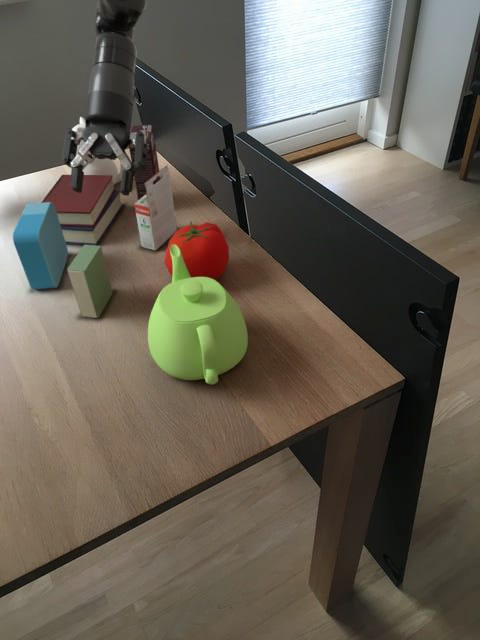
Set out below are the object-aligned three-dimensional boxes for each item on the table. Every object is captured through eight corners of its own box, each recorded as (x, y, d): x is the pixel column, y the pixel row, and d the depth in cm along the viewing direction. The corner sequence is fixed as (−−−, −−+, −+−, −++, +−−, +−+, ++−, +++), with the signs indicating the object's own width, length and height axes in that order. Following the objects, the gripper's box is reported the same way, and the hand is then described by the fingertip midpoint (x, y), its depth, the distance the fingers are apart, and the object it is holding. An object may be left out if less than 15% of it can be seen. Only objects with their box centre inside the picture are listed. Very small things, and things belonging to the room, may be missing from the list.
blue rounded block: (46, 254, 106) (27, 200, 98) (69, 253, 106) (52, 198, 98) (32, 292, 97) (10, 236, 89) (57, 291, 97) (37, 234, 89)
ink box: (141, 247, 106) (127, 179, 96) (163, 227, 111) (152, 161, 102) (156, 251, 105) (144, 183, 95) (178, 231, 110) (169, 164, 100)
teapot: (140, 314, 91) (126, 250, 82) (224, 295, 94) (220, 232, 85) (164, 412, 75) (150, 346, 67) (266, 386, 78) (265, 319, 69)
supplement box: (162, 211, 116) (151, 140, 106) (139, 213, 116) (126, 142, 105) (163, 192, 123) (153, 123, 112) (142, 193, 122) (130, 125, 112)
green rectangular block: (81, 317, 91) (66, 269, 85) (97, 291, 96) (84, 244, 90) (98, 318, 91) (84, 271, 84) (112, 292, 96) (101, 245, 89)
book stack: (40, 242, 109) (29, 210, 104) (72, 202, 121) (63, 172, 116) (96, 246, 107) (88, 214, 102) (123, 205, 119) (117, 175, 114)
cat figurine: (79, 177, 130) (63, 115, 120) (131, 173, 130) (120, 111, 120) (75, 195, 123) (57, 131, 113) (129, 191, 124) (117, 127, 114)
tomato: (245, 269, 99) (243, 222, 93) (201, 306, 92) (195, 257, 85) (199, 250, 105) (193, 204, 98) (154, 284, 97) (145, 236, 91)
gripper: (61, 87, 89) (50, 184, 88) (143, 89, 86) (133, 188, 86) (81, 107, 96) (71, 197, 96) (157, 109, 94) (148, 201, 93)
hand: (100, 192), depth 91 cm, fingers open, 8 cm apart
